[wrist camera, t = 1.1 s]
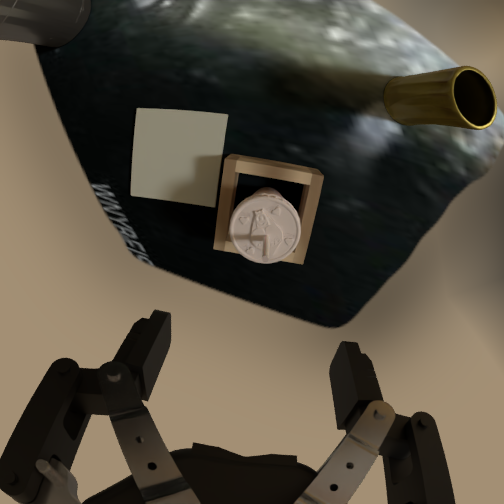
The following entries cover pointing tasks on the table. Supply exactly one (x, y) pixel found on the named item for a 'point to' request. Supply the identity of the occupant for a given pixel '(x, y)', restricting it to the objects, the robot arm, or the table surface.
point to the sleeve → (272, 170)
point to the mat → (177, 155)
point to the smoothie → (265, 227)
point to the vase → (443, 98)
